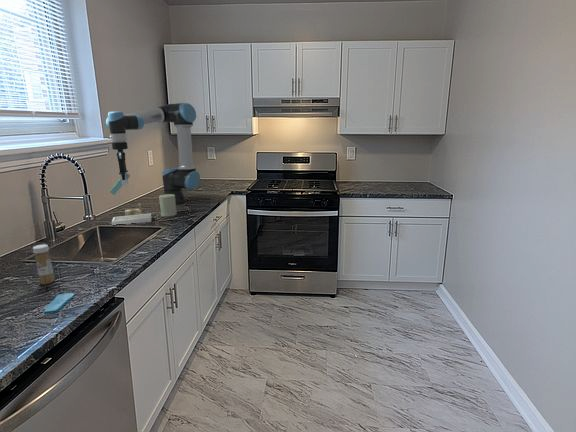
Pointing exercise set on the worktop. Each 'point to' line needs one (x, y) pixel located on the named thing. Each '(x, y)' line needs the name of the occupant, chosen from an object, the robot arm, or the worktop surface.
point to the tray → (132, 219)
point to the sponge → (59, 302)
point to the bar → (118, 185)
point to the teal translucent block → (134, 211)
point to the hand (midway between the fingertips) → (125, 184)
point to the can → (167, 205)
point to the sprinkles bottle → (43, 264)
